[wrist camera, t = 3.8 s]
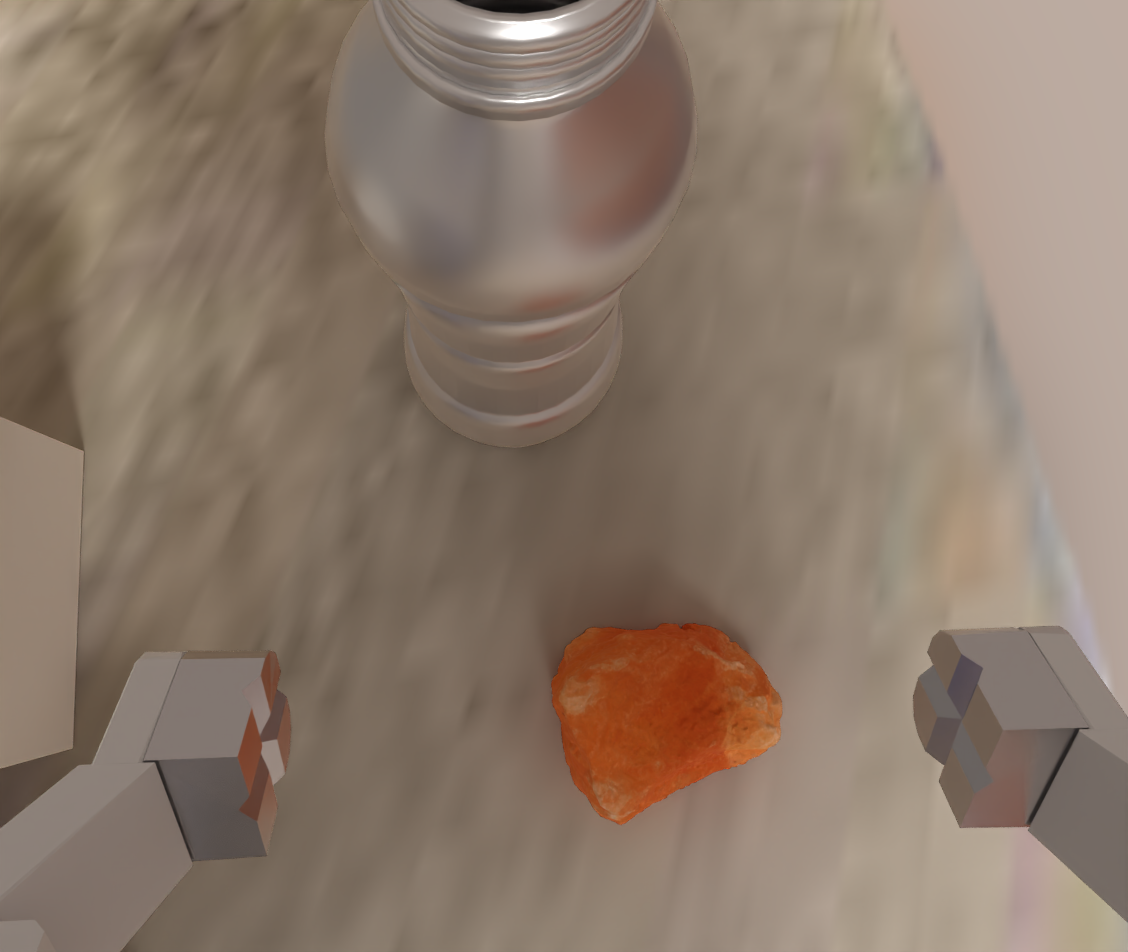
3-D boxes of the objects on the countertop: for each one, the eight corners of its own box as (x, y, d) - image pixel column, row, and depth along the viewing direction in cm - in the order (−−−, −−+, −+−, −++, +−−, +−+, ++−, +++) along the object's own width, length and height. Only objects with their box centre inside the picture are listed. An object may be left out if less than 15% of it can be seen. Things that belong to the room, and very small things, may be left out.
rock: (891, 833, 30) (954, 869, 25) (522, 968, 28) (524, 1028, 24) (764, 475, 31) (804, 453, 27) (409, 589, 30) (392, 583, 26)
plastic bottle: (649, 326, 31) (892, -198, 11) (545, 501, 30) (614, 255, 10) (482, 229, 31) (434, -452, 12) (373, 399, 30) (112, -34, 10)
